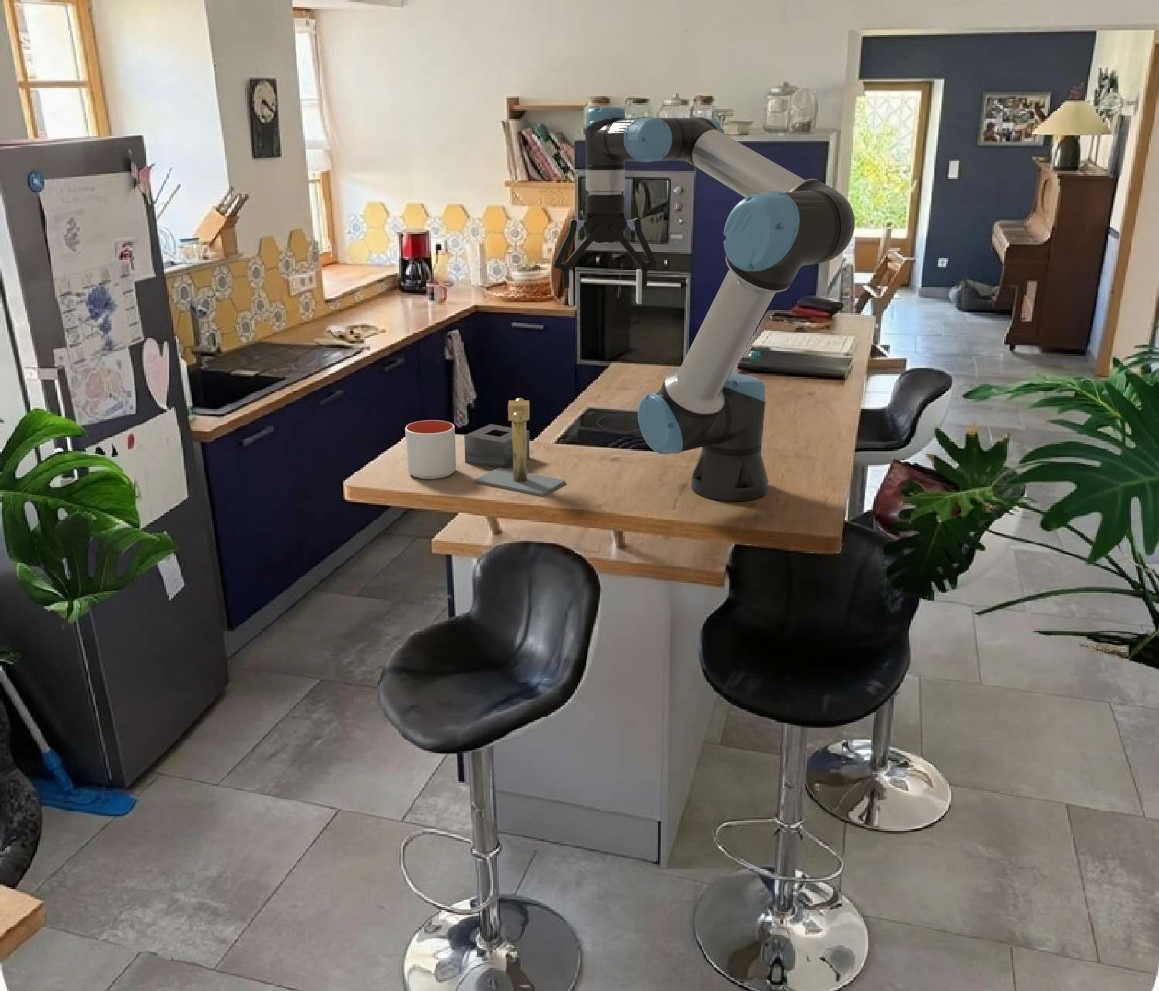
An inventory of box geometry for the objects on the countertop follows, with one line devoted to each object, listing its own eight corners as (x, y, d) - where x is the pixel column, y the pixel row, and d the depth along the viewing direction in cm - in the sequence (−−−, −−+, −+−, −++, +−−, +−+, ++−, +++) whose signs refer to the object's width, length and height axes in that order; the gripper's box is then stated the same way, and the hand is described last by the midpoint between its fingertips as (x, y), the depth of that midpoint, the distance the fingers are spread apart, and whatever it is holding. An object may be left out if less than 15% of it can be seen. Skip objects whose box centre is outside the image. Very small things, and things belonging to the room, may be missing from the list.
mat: (565, 482, 206) (565, 480, 206) (542, 496, 199) (542, 493, 199) (499, 469, 214) (499, 467, 213) (474, 482, 206) (474, 479, 206)
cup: (447, 482, 206) (445, 435, 203) (400, 479, 208) (397, 432, 205) (462, 467, 215) (460, 421, 212) (417, 463, 217) (415, 418, 214)
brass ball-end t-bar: (529, 490, 200) (527, 411, 194) (508, 490, 200) (506, 411, 194) (531, 469, 212) (529, 394, 207) (511, 469, 212) (510, 394, 207)
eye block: (529, 457, 222) (529, 430, 220) (504, 470, 214) (503, 442, 212) (491, 450, 226) (490, 424, 224) (465, 462, 218) (464, 435, 216)
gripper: (666, 191, 201) (663, 299, 208) (539, 192, 199) (541, 302, 206) (672, 193, 194) (669, 305, 201) (541, 194, 192) (543, 308, 199)
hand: (604, 304), depth 203 cm, fingers open, 13 cm apart
